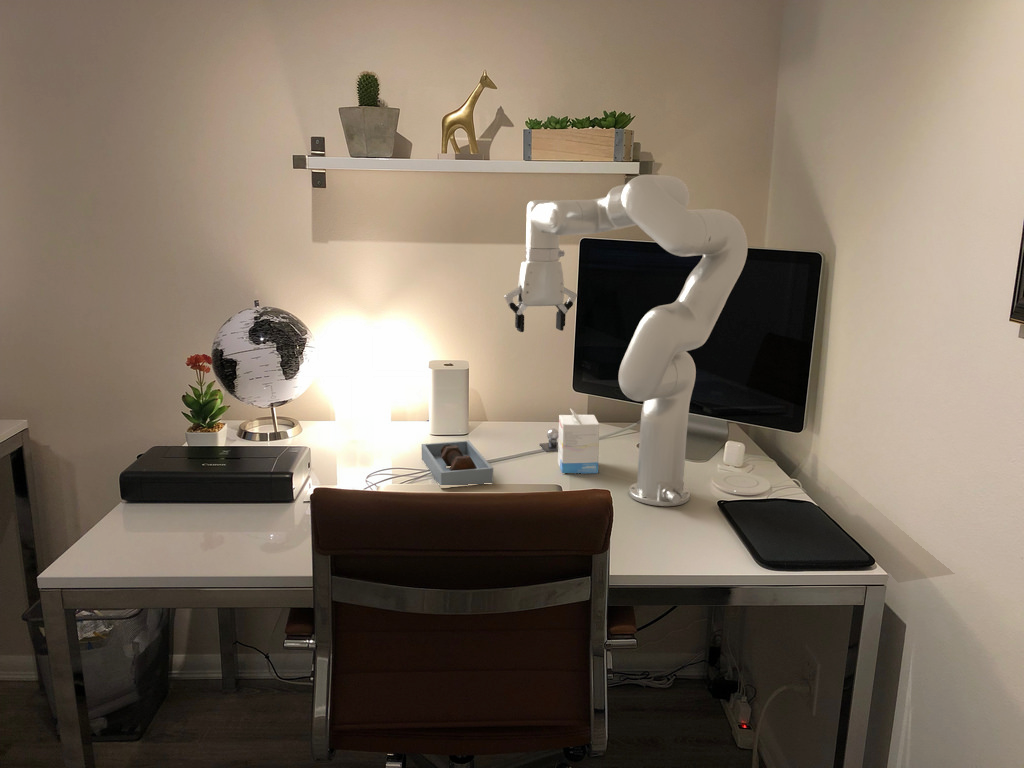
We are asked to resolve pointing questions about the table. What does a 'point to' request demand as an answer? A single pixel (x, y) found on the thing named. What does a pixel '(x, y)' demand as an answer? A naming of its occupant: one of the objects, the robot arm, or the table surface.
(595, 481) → the table surface
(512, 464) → the table surface
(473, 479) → the parts tray
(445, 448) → the bolt
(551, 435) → the ball stud
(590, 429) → the ink box
